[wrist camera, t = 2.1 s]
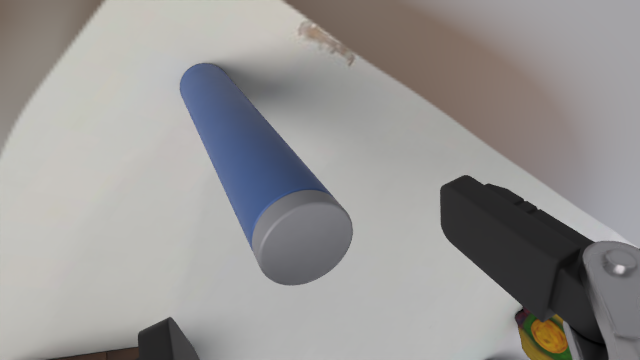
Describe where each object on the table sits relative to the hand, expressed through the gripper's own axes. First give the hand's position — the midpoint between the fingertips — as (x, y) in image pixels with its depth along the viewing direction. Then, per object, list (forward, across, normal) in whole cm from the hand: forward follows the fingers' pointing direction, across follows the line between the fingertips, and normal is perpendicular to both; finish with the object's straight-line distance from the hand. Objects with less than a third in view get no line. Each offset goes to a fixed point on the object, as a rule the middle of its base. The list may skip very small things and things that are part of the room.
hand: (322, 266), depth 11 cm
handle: (+17, 0, 0) cm, 17 cm away
